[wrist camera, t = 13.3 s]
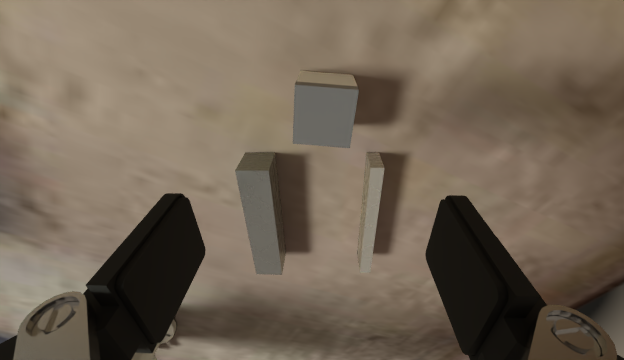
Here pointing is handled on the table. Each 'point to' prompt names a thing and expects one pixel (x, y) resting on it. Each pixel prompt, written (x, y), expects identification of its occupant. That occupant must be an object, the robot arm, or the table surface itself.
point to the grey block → (324, 109)
